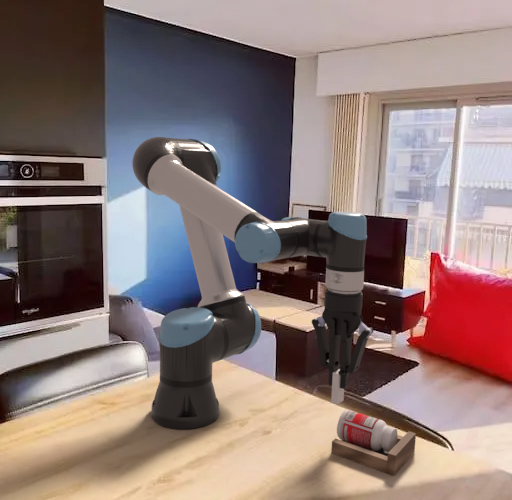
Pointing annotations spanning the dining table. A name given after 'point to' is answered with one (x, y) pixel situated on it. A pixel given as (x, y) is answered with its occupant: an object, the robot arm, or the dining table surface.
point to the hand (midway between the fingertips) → (337, 401)
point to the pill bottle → (366, 431)
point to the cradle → (378, 453)
